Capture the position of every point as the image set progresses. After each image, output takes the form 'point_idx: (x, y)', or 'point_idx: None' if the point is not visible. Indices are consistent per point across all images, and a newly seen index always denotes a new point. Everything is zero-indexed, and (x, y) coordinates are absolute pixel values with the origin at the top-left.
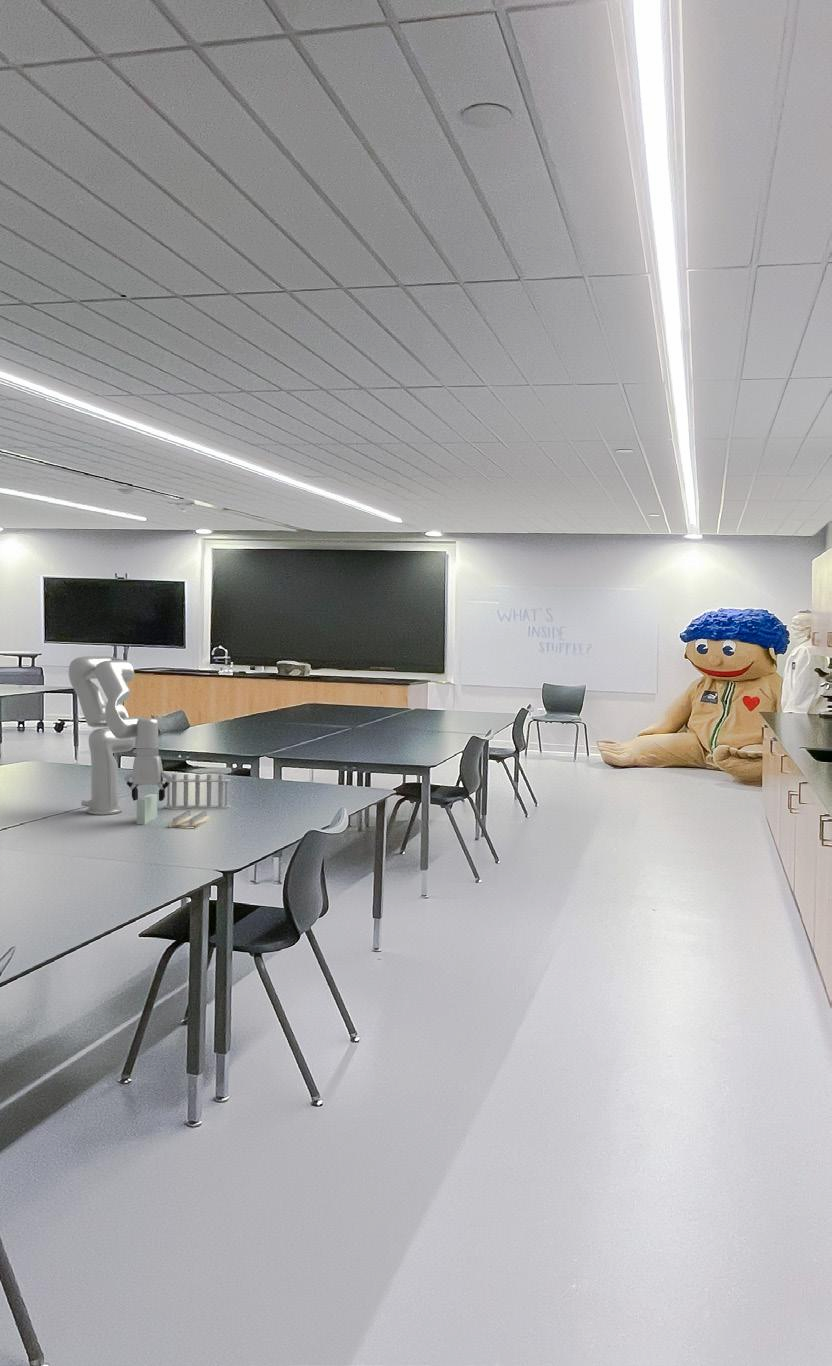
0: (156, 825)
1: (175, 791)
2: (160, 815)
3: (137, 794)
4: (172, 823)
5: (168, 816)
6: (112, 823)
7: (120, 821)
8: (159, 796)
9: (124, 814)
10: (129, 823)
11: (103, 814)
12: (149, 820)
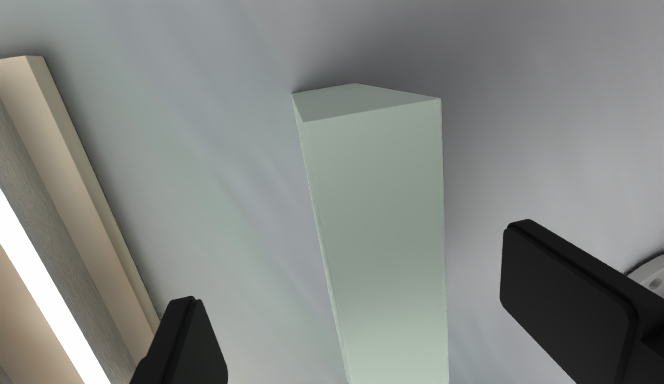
0: (194, 105)
1: None
2: None
3: (540, 332)
4: (31, 121)
5: (302, 369)
6: (532, 55)
7: (504, 140)
8: (170, 336)
9: None
10: None
11: (651, 260)
12: (309, 188)
